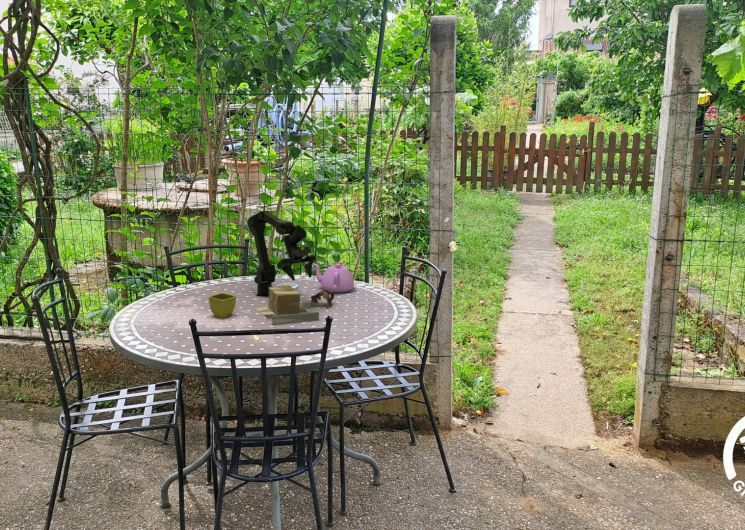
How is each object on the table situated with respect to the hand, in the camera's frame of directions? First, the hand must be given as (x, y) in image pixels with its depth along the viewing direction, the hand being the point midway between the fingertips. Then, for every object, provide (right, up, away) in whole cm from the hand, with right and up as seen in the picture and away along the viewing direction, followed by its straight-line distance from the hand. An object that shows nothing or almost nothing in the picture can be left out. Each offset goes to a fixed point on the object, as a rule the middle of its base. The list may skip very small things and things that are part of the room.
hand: (302, 279), depth 297 cm
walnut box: (-8, -15, -1) cm, 17 cm away
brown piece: (+9, -13, +13) cm, 20 cm away
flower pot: (-34, -16, -9) cm, 39 cm away
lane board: (-7, -16, -4) cm, 18 cm away
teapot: (+11, -7, +41) cm, 43 cm away
